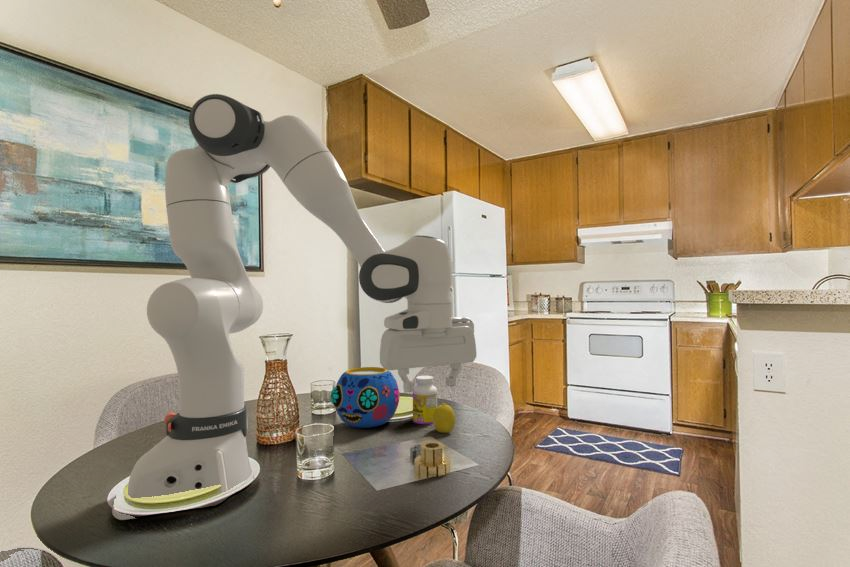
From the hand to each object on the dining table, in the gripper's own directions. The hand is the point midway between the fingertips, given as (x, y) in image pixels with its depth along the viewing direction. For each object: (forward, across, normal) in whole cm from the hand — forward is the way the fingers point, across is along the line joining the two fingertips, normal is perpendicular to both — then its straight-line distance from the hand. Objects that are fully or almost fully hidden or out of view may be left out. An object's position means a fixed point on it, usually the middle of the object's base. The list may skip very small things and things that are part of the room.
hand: (430, 388), depth 85 cm
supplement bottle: (+17, -14, -29) cm, 36 cm away
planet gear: (+16, 0, 0) cm, 16 cm away
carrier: (+17, +2, -7) cm, 18 cm away
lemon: (+17, -14, -19) cm, 29 cm away
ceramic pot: (+17, 0, -36) cm, 40 cm away
